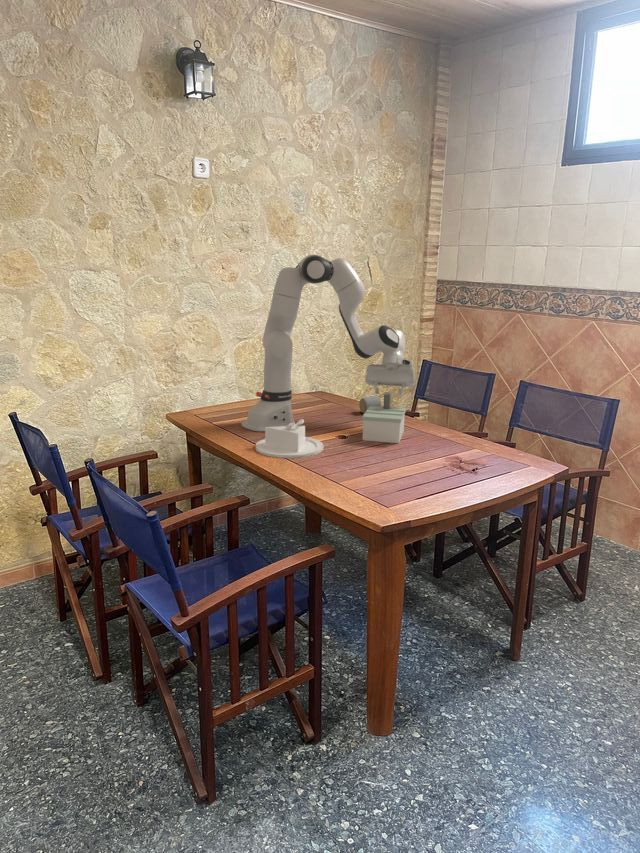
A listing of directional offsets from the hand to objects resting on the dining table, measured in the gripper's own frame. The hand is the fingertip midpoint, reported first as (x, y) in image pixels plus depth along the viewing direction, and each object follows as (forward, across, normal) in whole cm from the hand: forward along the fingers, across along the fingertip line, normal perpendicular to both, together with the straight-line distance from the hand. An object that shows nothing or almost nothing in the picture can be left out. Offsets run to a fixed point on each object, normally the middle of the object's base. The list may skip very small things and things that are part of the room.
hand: (388, 393), depth 254 cm
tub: (+17, 0, +4) cm, 18 cm away
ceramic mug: (-7, -10, +28) cm, 31 cm away
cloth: (+39, +32, -17) cm, 54 cm away
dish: (+36, -32, -14) cm, 50 cm away
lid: (+13, 0, -1) cm, 13 cm away
